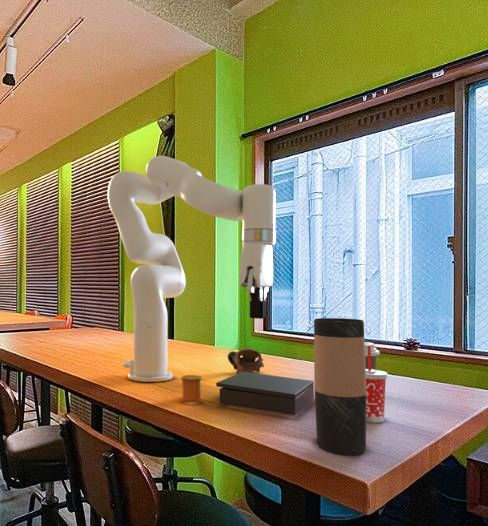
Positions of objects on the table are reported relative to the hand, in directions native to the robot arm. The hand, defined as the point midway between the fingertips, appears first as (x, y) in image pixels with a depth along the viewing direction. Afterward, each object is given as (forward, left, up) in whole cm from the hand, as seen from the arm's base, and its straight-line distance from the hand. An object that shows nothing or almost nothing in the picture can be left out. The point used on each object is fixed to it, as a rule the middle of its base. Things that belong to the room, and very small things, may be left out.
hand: (257, 317), depth 101 cm
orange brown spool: (-11, -12, -18) cm, 24 cm away
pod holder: (+4, -5, -18) cm, 19 cm away
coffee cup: (+19, +17, -18) cm, 32 cm away
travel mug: (+22, -23, -18) cm, 36 cm away
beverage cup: (+24, -4, -18) cm, 30 cm away
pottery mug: (-13, +25, -18) cm, 34 cm away
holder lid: (+3, -5, -14) cm, 15 cm away
